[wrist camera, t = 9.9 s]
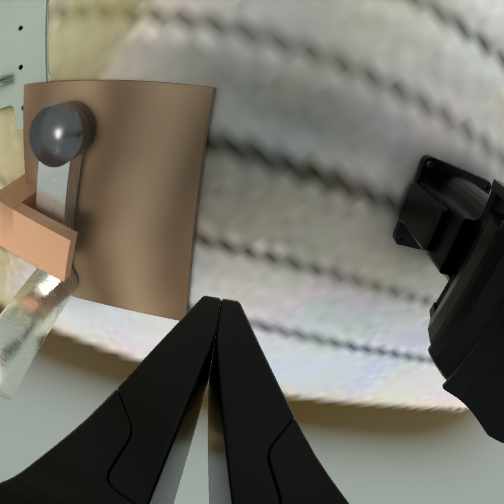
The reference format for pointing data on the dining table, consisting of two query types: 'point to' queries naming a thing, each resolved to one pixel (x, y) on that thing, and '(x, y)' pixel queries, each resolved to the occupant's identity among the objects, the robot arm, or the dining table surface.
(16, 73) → the metal bracket
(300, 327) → the dining table surface
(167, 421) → the robot arm
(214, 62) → the dining table surface
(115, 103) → the board
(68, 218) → the grey cylinder with bar
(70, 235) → the block
